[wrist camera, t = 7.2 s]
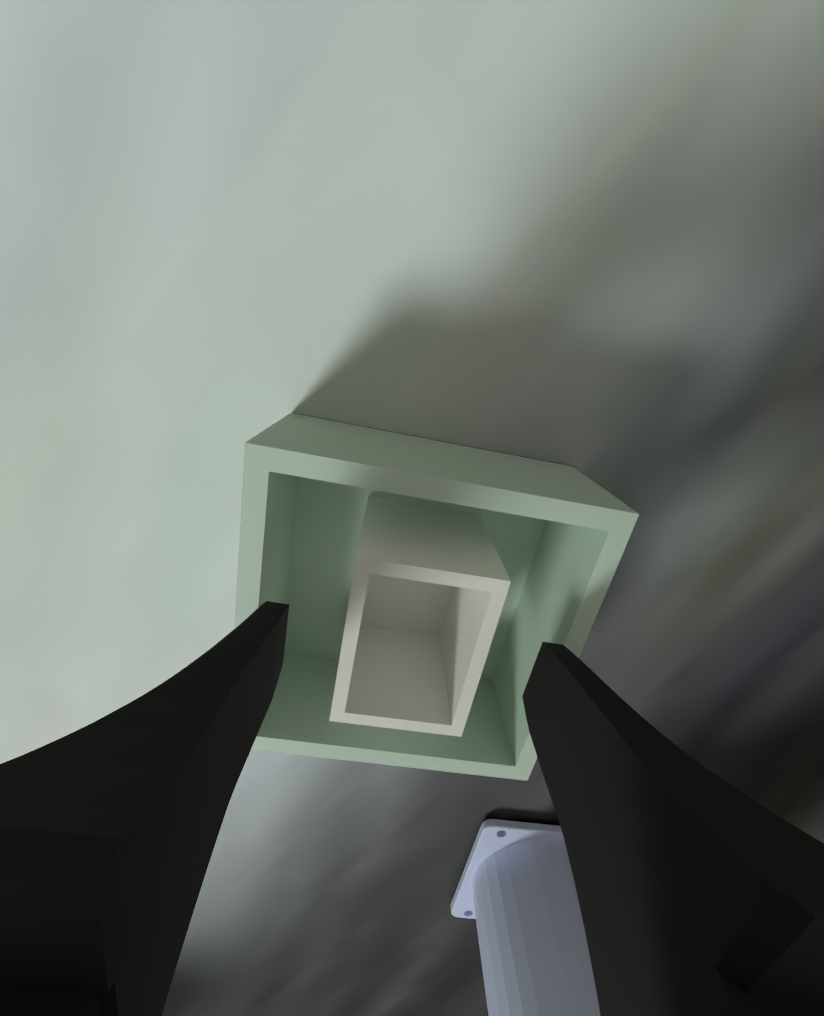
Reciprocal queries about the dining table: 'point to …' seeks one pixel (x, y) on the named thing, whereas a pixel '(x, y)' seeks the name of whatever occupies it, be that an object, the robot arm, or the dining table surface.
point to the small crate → (418, 618)
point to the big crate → (331, 559)
